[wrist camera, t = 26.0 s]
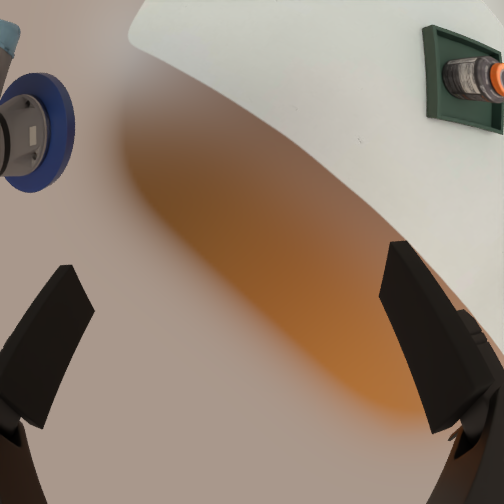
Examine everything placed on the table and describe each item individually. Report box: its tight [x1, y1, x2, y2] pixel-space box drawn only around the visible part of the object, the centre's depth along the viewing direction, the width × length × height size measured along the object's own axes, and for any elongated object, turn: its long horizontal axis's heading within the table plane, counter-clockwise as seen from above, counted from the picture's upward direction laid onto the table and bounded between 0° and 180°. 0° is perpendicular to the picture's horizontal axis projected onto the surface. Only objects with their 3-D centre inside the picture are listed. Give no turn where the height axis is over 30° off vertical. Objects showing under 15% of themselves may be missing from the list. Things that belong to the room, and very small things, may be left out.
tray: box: [422, 25, 504, 135], centre depth 25 cm, size 13×13×3 cm
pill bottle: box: [442, 56, 504, 103], centre depth 21 cm, size 6×6×11 cm
